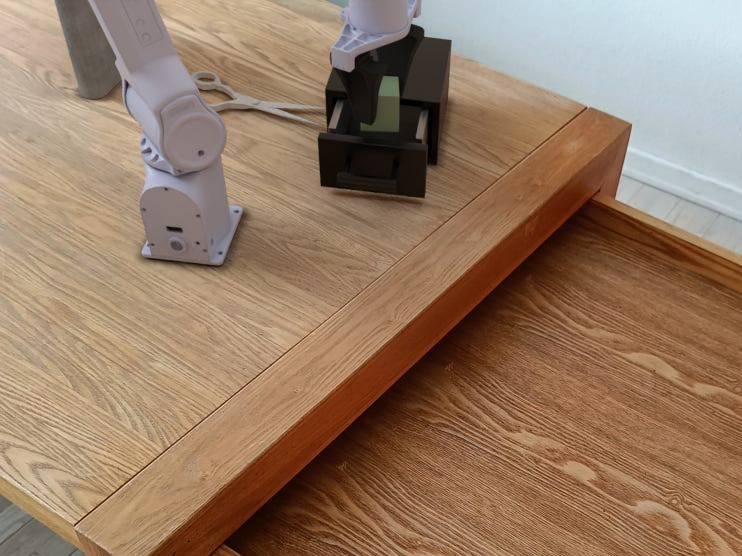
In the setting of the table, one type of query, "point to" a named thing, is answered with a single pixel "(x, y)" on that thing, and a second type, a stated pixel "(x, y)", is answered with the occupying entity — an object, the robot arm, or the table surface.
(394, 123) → the block
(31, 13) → the table surface
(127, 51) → the robot arm
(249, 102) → the scissors
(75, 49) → the hip flask
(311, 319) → the table surface
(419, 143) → the drawer
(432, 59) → the cabinet
